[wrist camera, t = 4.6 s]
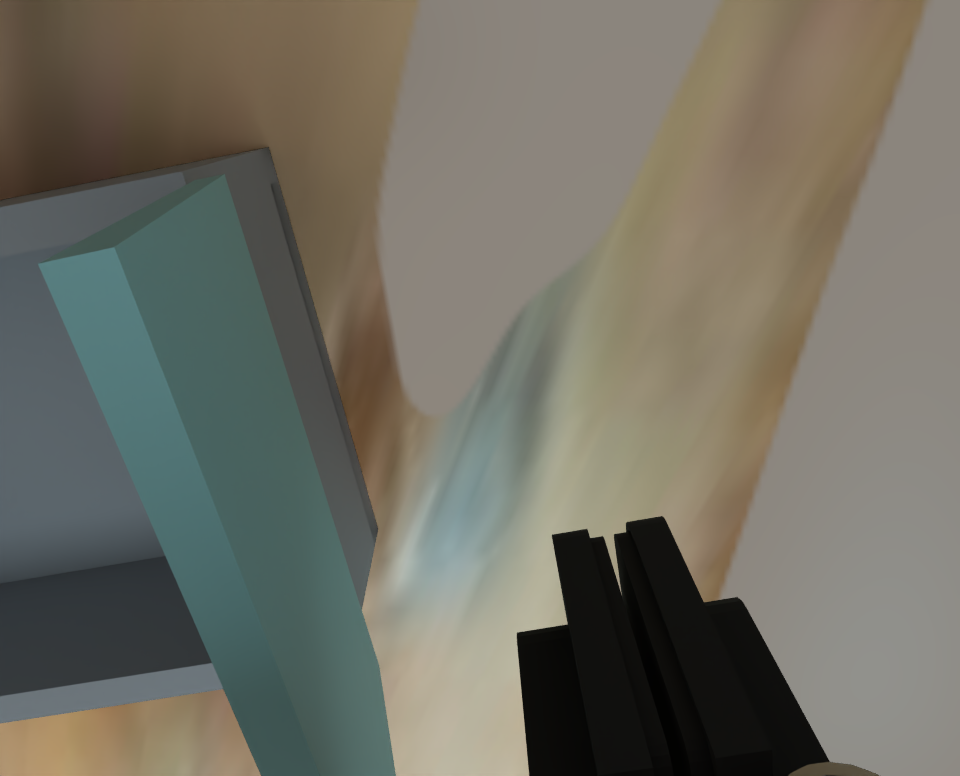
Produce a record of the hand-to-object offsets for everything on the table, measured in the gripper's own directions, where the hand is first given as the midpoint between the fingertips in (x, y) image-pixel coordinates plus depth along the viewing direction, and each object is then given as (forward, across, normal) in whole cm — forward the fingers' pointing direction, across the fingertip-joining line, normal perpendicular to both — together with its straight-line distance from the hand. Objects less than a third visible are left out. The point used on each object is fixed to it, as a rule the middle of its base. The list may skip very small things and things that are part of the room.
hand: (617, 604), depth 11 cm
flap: (+2, +6, 0) cm, 6 cm away
